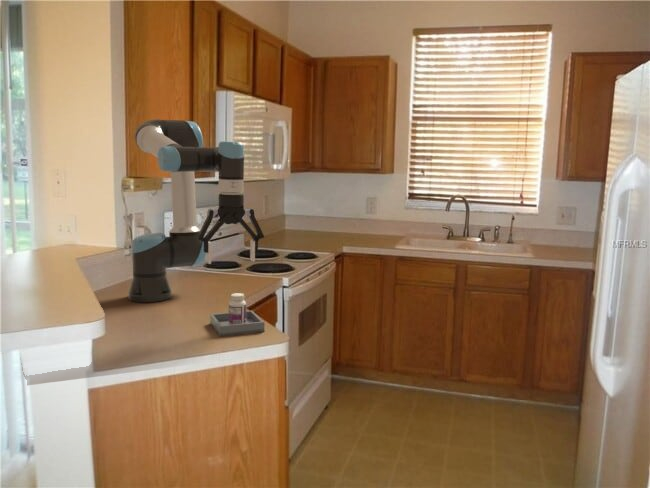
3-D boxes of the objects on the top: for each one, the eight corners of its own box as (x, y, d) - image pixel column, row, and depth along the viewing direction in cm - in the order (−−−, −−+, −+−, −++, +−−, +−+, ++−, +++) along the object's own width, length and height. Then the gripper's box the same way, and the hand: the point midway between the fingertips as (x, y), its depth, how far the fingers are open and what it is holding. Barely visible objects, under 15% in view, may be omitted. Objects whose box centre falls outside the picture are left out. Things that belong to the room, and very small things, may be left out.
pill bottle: (237, 321, 177) (237, 291, 175) (249, 324, 174) (250, 294, 172) (224, 325, 172) (225, 294, 171) (237, 328, 169) (237, 297, 168)
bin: (219, 336, 164) (219, 326, 164) (210, 323, 177) (210, 314, 176) (264, 331, 170) (264, 322, 169) (252, 319, 182) (252, 310, 182)
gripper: (191, 194, 162) (192, 266, 165) (274, 194, 171) (273, 262, 175) (187, 192, 168) (188, 261, 172) (267, 191, 178) (266, 257, 182)
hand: (231, 262), depth 174 cm, fingers open, 13 cm apart
